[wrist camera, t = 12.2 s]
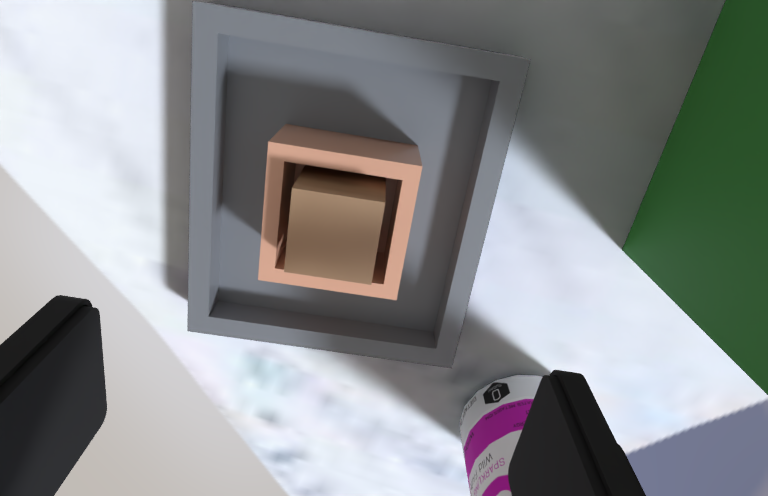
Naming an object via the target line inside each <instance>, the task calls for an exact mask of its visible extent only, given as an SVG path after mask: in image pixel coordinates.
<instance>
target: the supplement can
mask: <svg viewBox="0 0 768 496" xmlns="http://www.w3.org/2000/svg"><path fill="white" fill-rule="evenodd" d="M541 379H542V377H541V376H535V375H515V376H511V377H507V378H503V379H499V380H495V381H494V382H492V383H490V384H489V385H487V386H485V387H483V388H482V389H480V390H478V391H477V392H476V393H475V394H474V396H473V397H472V398H471V399H470V400H469V401H468V403H467V404H466V405H465V407H464V410H463V413H462V416H461V419H460V421H459V424H460V433H461V441H462V447H463V453H464V458H465V464H466V470H467V476H468V482H469V488H470V494H471V496H512V494H511V490H510V486H509V481H508V469H509V464H510V461H511V458H512V456H513V453H514V450H515V448H516V445H517V442H518V440H519V437H520V434H521V432H522V429H523V426H524V424H525V421H526V418H527V416H528V413H529V410H530V408H531V405H532V403H533V400H534V397H535V395H536V392H537V389H538V387H539V384H540V381H541Z"/></svg>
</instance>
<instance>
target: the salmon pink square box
mask: <svg viewBox="0 0 768 496" xmlns="http://www.w3.org/2000/svg"><path fill="white" fill-rule="evenodd" d="M305 165H311V166H317V167H323V168H329V169H336V170H342V171H348V172H355V173H361V174H367V175H373V176H380V177H386V197H385V208H384V213H383V219H382V225H381V231H380V237H379V243H378V249H377V255H376V260H375V266H374V272H373V278H372V284H371V285H368V284H362V283H355V282H348V281H341V280H335V279H328V278H321V277H314V276H308V275H301V274H294V273H287V272H284V266H285V255H286V245H287V234H288V224H289V214H290V203H291V193H292V187H293V185H294V184H295V182H296V180H297V178H298V177H299V175H300V173H301V171H302V170H303V168H304V166H305ZM422 167H423V166H422V162H421V157H420V153H419V148H418V145H413V144H407V143H401V142H394V141H388V140H382V139H376V138H370V137H364V136H358V135H352V134H345V133H339V132H333V131H327V130H321V129H315V128H309V127H302V126H296V125H290V124H285V125H284V126H283V127H282V128H281V129H280V130H279V131H278V132H277V133H276V134H275V135H274V136H273V137H272V138H271V139H270V140H269V141H268V152H267V165H266V179H265V192H264V205H263V219H262V232H261V246H260V259H259V273H258V280H262V281H268V282H275V283H282V284H289V285H296V286H303V287H309V288H316V289H323V290H330V291H337V292H343V293H350V294H357V295H364V296H371V297H377V298H384V299H391V300H397V295H398V290H399V285H400V280H401V275H402V269H403V264H404V259H405V254H406V249H407V244H408V239H409V233H410V228H411V223H412V218H413V213H414V208H415V203H416V197H417V192H418V187H419V182H420V177H421V172H422Z"/></svg>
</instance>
